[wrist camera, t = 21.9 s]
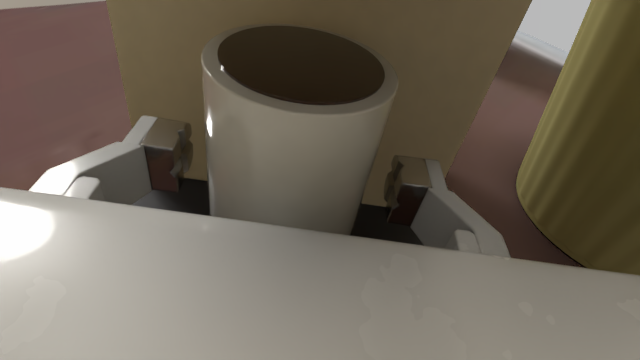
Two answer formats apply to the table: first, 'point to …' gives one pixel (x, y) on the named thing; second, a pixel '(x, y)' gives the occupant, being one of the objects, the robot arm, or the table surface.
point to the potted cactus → (591, 145)
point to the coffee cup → (292, 124)
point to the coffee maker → (339, 17)
